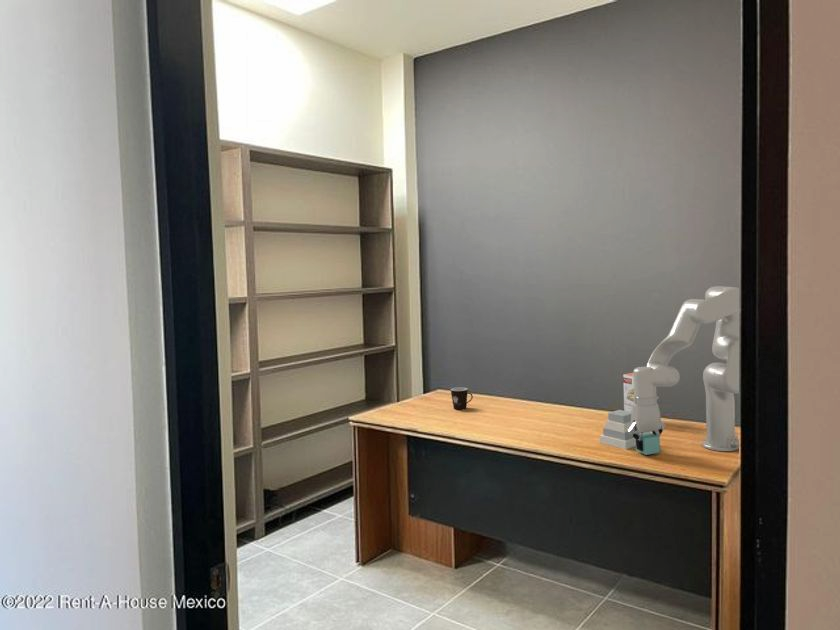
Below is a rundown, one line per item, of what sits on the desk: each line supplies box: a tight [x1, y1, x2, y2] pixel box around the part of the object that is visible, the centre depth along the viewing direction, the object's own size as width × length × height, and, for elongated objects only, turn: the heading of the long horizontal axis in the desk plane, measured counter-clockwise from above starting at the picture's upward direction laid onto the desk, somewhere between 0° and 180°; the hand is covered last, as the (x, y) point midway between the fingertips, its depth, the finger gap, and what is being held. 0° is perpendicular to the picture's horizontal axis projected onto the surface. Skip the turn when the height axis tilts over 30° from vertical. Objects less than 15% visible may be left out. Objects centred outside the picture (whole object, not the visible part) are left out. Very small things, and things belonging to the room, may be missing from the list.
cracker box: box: [622, 372, 658, 412], centre depth 262 cm, size 14×6×21 cm, turn 24°
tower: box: [599, 409, 636, 450], centre depth 236 cm, size 12×12×12 cm
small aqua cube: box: [635, 432, 661, 456], centre depth 222 cm, size 6×6×6 cm
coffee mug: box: [450, 386, 474, 411], centre depth 304 cm, size 12×9×10 cm
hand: (647, 448), depth 222 cm, fingers closed on small aqua cube, 6 cm apart
